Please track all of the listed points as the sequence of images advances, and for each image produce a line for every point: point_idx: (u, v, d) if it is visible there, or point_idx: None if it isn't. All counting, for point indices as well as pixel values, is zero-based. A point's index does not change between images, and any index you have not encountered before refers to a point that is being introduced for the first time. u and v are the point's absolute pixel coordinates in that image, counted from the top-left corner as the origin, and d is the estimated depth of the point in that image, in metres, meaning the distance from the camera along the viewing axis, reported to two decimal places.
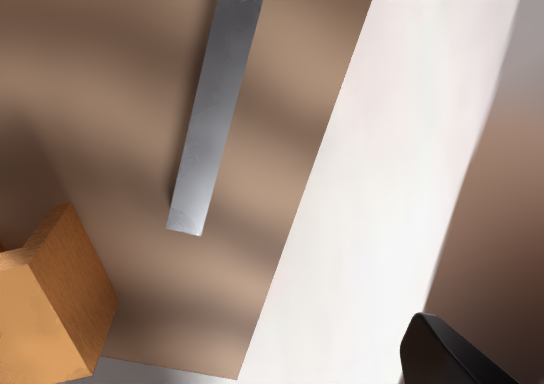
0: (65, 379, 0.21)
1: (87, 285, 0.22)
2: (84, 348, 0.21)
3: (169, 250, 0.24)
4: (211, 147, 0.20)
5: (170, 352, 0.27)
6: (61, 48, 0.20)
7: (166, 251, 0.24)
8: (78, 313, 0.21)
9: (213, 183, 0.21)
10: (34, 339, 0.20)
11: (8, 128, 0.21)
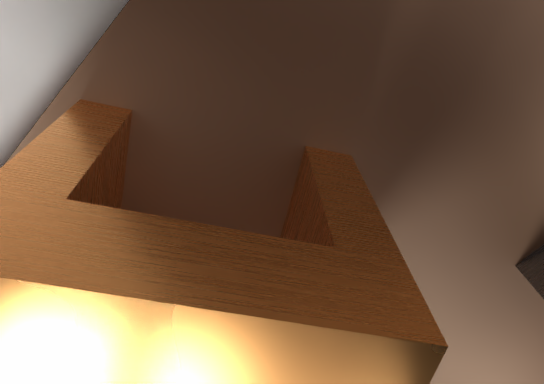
0: None
1: None
2: None
3: (447, 331, 0.11)
4: None
5: None
6: None
7: None
8: None
9: None
10: None
11: None
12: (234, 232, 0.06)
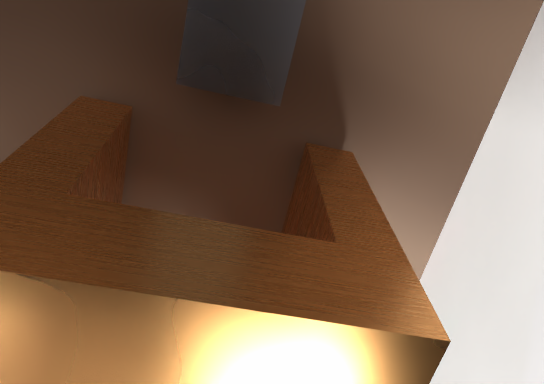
0: None
1: None
2: None
3: (189, 174, 0.10)
4: None
5: None
6: None
7: (181, 178, 0.10)
8: None
9: None
10: None
11: None
12: (234, 227, 0.06)
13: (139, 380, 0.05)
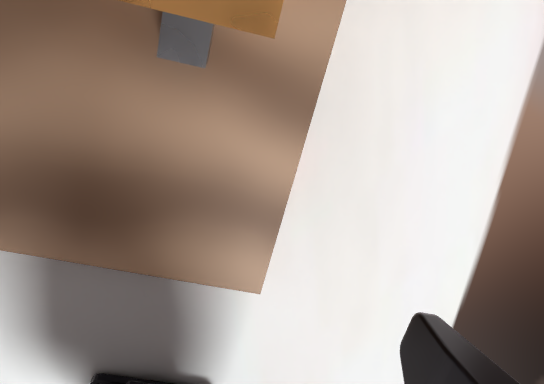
0: (229, 24, 0.12)
1: None
2: None
3: (165, 106, 0.18)
4: None
5: (174, 257, 0.21)
6: None
7: (161, 109, 0.18)
8: None
9: None
10: None
11: None
12: None
13: None
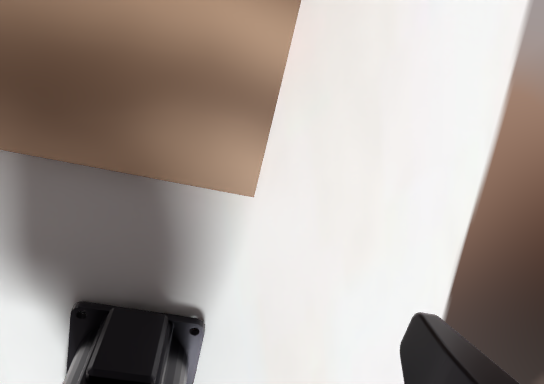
0: None
1: None
2: None
3: None
4: None
5: (159, 152, 0.19)
6: None
7: None
8: None
9: None
10: None
11: None
12: None
13: None
